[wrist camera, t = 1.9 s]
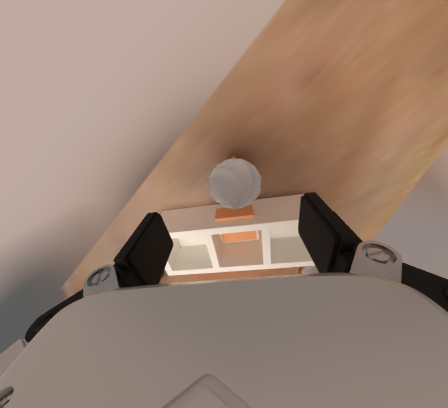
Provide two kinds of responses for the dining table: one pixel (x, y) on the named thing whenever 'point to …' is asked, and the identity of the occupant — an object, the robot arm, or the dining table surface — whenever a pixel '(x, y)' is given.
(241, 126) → the dining table surface
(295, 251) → the compartment tray
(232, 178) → the ice cream cone
